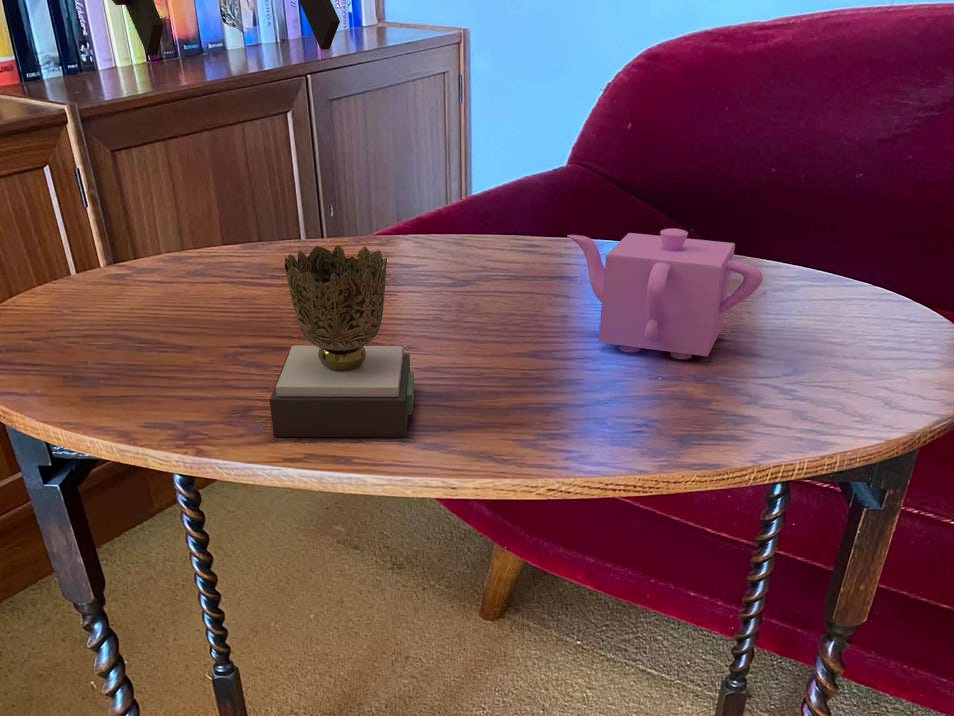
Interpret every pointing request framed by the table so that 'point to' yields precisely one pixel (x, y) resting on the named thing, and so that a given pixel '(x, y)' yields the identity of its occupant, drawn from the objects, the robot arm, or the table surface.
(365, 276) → the cup
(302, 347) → the scale
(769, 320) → the table surface
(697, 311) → the teapot
